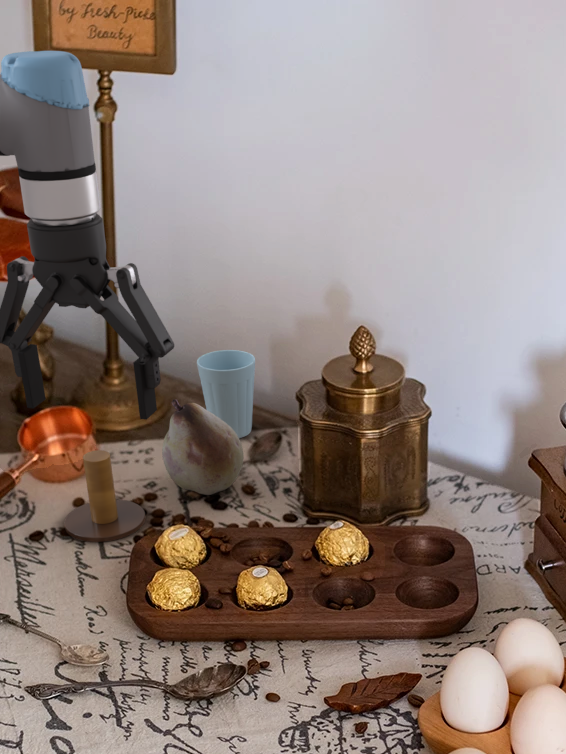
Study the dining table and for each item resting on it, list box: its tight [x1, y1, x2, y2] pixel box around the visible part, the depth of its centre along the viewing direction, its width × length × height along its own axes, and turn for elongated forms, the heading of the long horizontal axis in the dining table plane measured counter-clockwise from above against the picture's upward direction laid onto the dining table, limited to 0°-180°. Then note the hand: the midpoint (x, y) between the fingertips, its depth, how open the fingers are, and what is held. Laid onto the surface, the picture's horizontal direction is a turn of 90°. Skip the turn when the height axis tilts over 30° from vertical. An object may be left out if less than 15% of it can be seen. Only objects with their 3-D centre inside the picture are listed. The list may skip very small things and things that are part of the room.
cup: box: [196, 349, 256, 439], centre depth 149 cm, size 8×8×10 cm
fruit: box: [161, 398, 245, 496], centre depth 134 cm, size 10×9×12 cm
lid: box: [63, 449, 146, 543], centre depth 127 cm, size 9×9×9 cm
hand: (92, 409), depth 122 cm, fingers open, 13 cm apart
